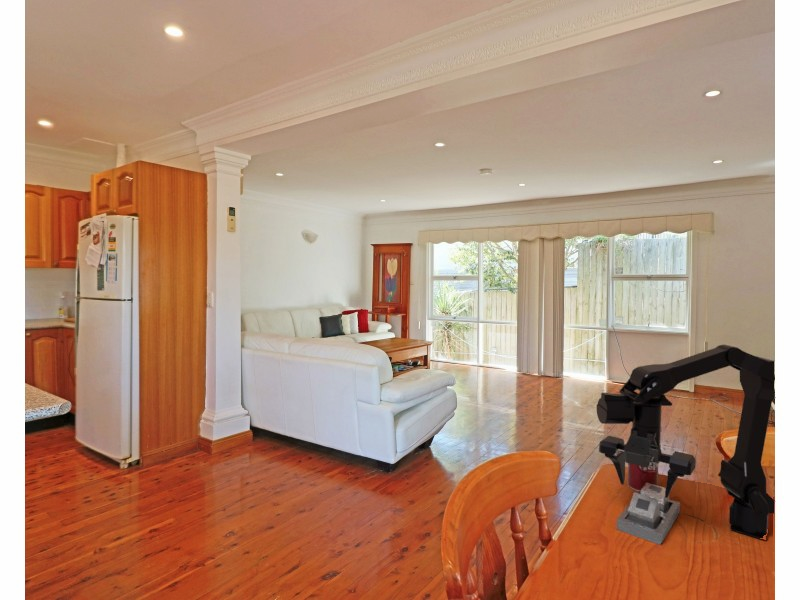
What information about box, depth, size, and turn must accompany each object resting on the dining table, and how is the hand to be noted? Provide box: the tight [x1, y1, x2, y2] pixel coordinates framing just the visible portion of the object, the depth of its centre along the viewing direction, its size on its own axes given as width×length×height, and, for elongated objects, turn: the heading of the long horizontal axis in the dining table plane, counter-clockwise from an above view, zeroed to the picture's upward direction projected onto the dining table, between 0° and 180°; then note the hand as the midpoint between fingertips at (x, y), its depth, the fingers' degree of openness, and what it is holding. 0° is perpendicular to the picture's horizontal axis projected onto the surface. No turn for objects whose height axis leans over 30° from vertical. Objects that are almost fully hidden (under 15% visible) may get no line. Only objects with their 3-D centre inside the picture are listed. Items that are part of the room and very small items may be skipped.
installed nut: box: [641, 483, 670, 513], centre depth 112 cm, size 5×5×6 cm
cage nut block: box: [628, 491, 661, 529], centre depth 106 cm, size 5×5×6 cm
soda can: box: [627, 462, 660, 493], centre depth 126 cm, size 7×7×12 cm
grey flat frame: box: [616, 491, 681, 546], centre depth 109 cm, size 9×18×2 cm, turn 138°
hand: (644, 490), depth 105 cm, fingers open, 9 cm apart
